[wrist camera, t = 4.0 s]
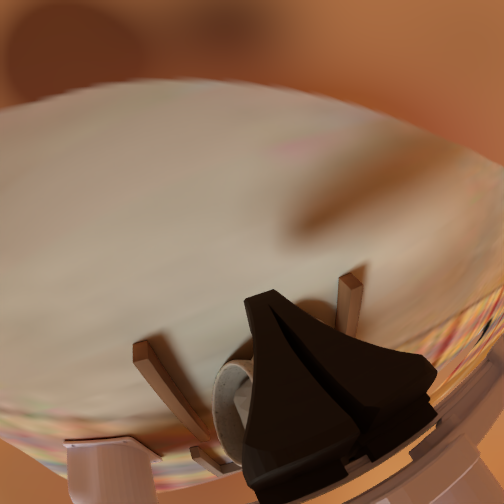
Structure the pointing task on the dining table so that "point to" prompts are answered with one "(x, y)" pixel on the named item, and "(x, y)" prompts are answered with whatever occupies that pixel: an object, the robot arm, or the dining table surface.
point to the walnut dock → (176, 402)
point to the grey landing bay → (213, 463)
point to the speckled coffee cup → (232, 405)
